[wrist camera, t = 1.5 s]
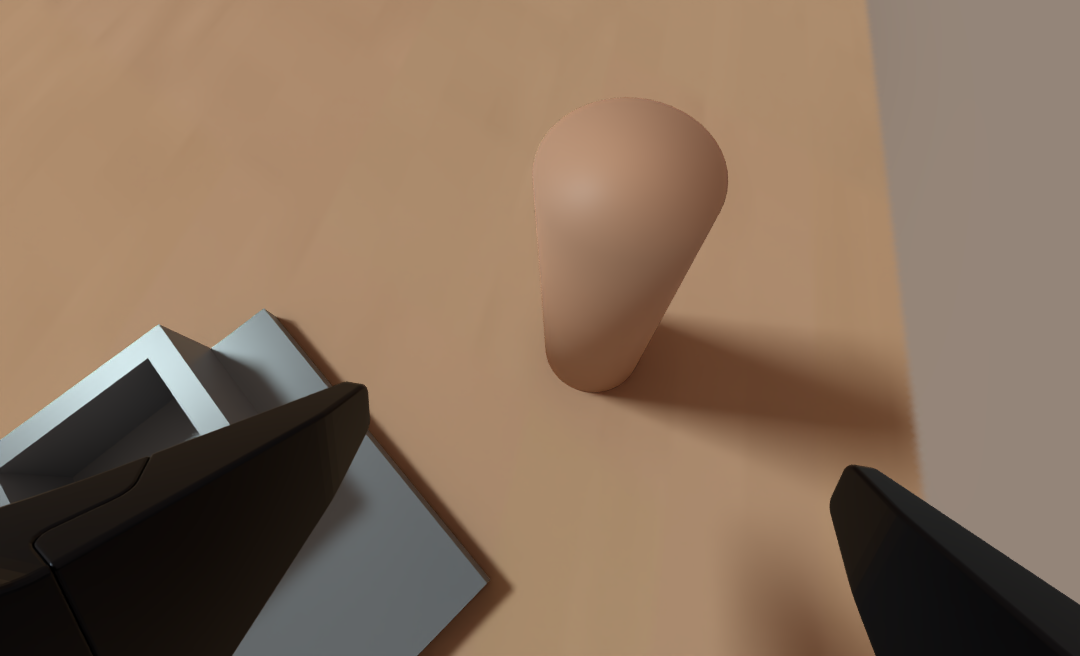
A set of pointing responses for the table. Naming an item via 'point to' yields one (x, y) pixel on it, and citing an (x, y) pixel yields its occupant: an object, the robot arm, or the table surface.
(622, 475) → the table surface
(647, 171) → the peg
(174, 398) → the jig cradle
